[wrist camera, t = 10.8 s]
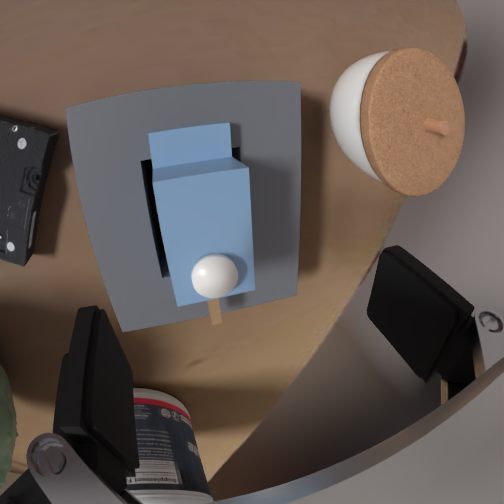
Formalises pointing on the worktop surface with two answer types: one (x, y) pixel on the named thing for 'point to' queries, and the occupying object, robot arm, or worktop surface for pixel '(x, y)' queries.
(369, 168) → the lidded jar
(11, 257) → the disk drive
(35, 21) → the worktop surface
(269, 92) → the plate
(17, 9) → the worktop surface
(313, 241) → the worktop surface
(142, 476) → the supplement tub
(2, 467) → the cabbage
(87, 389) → the robot arm
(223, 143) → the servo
